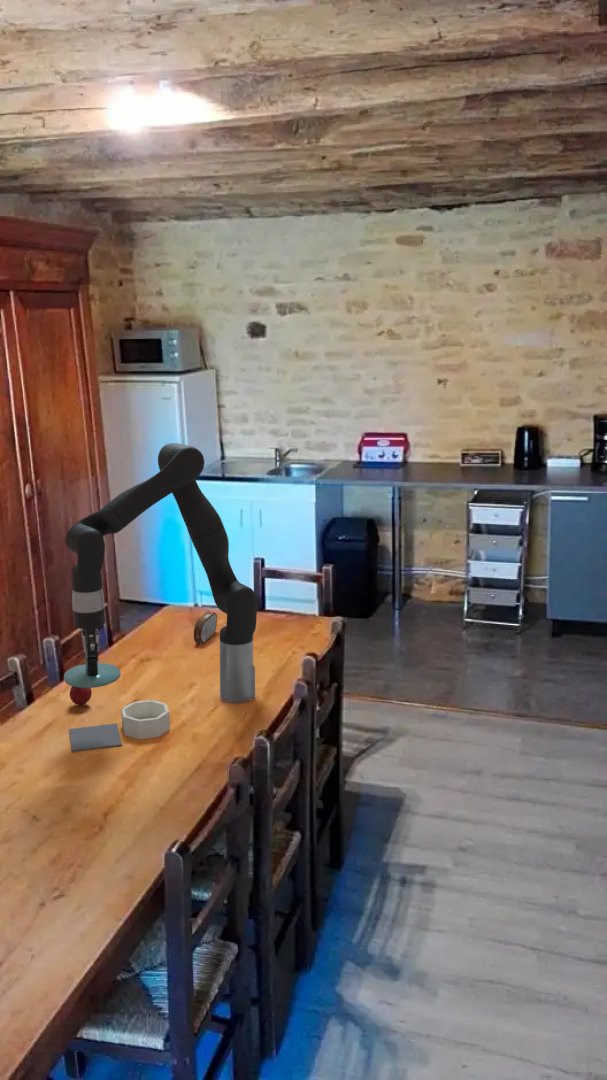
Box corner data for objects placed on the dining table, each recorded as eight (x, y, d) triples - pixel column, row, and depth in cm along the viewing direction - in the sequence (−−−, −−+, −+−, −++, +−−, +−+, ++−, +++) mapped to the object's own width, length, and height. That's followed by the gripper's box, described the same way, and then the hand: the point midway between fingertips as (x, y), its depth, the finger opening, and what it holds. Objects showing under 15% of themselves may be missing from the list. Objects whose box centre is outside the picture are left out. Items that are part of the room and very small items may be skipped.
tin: (210, 630, 299) (209, 607, 297) (218, 631, 298) (218, 608, 296) (192, 646, 285) (192, 621, 283) (201, 647, 284) (201, 622, 282)
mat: (116, 724, 231) (116, 723, 230) (122, 745, 220) (122, 744, 219) (69, 730, 227) (69, 729, 227) (72, 752, 216) (72, 750, 216)
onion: (86, 711, 238) (85, 684, 236) (66, 709, 239) (65, 682, 237) (95, 702, 243) (94, 675, 241) (76, 700, 244) (74, 673, 242)
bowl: (164, 715, 236) (164, 698, 235) (171, 735, 225) (171, 717, 224) (120, 721, 233) (119, 703, 231) (125, 741, 222) (125, 722, 221)
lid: (117, 663, 227) (116, 643, 226) (123, 684, 215) (122, 663, 213) (62, 669, 223) (61, 649, 222) (65, 690, 211) (64, 669, 209)
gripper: (107, 614, 209) (110, 681, 213) (101, 596, 222) (104, 660, 226) (74, 617, 207) (78, 685, 211) (70, 598, 220) (74, 663, 224)
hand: (92, 672), depth 219 cm, fingers closed on lid, 3 cm apart
